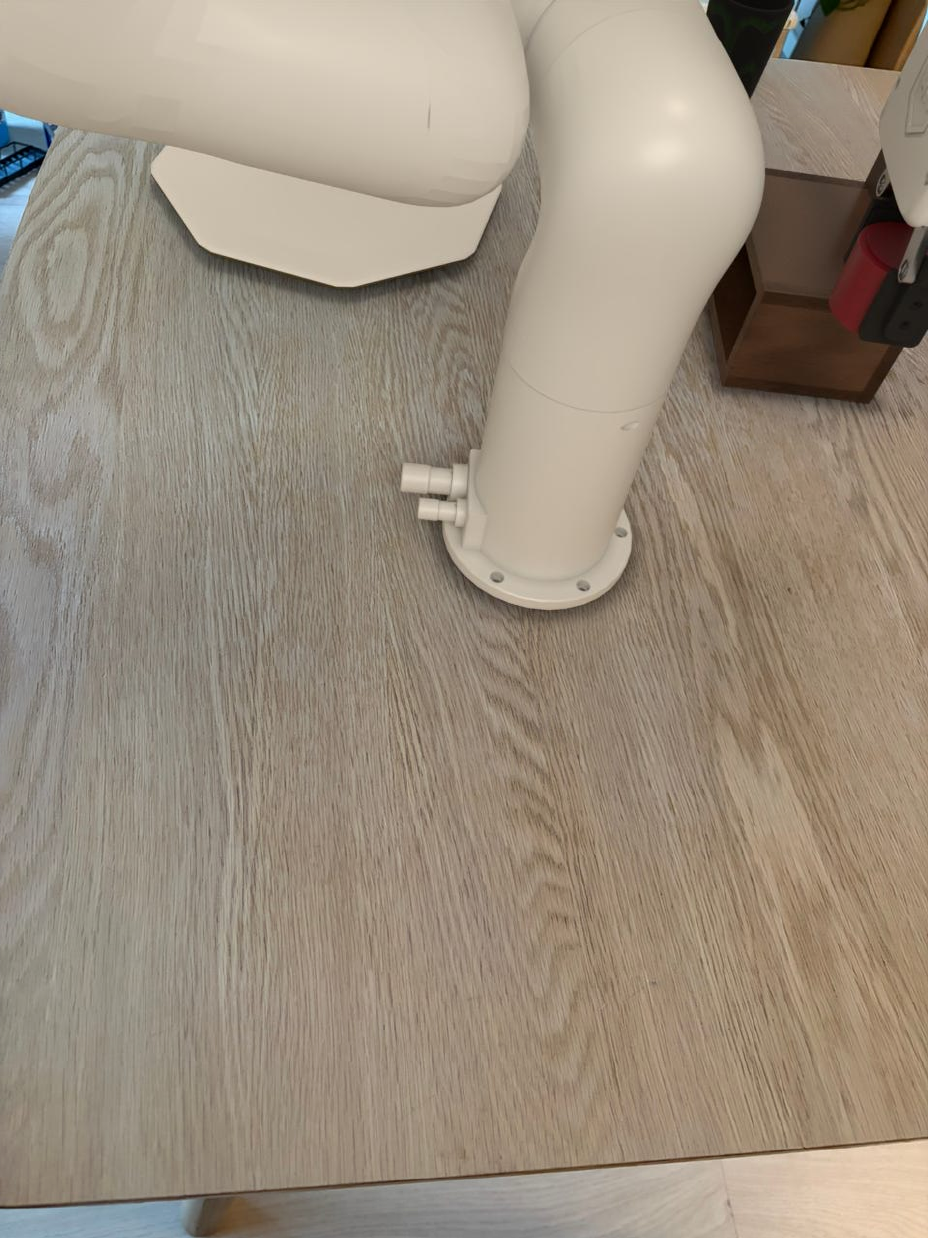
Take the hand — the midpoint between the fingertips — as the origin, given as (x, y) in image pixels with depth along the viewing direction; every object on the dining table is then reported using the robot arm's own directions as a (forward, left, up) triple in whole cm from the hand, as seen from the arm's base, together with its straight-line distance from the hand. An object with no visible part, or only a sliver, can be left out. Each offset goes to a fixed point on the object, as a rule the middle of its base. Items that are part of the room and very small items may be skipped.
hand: (878, 301), depth 55 cm
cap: (0, 0, -1) cm, 1 cm away
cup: (+4, +55, -20) cm, 59 cm away
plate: (-32, +34, -20) cm, 51 cm away
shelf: (+6, +23, -20) cm, 31 cm away
